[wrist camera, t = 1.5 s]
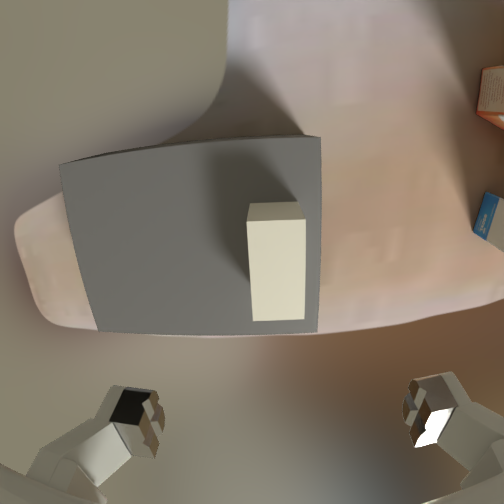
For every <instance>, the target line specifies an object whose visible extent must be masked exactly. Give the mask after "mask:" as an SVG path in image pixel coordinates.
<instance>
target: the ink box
mask: <svg viewBox="0 0 504 504" xmlns="http://www.w3.org/2000/svg"><path fill="white" fill-rule="evenodd" d="M473 232H474V233H475V234H477V235H478V236H480V237H481V238H483V239H484V240H486V241H487V242H489V243H490V244H492V245H493V246H495V247H496V248H498V249H499V250H501V251H502V252H504V199H503V198H500V197H498V196H496V195H493V194H491V193H489V192H486V193H485V195H484V198H483V202H482V205H481V208H480V211H479V214H478V217H477V220H476V223H475V226H474V230H473Z"/></svg>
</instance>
